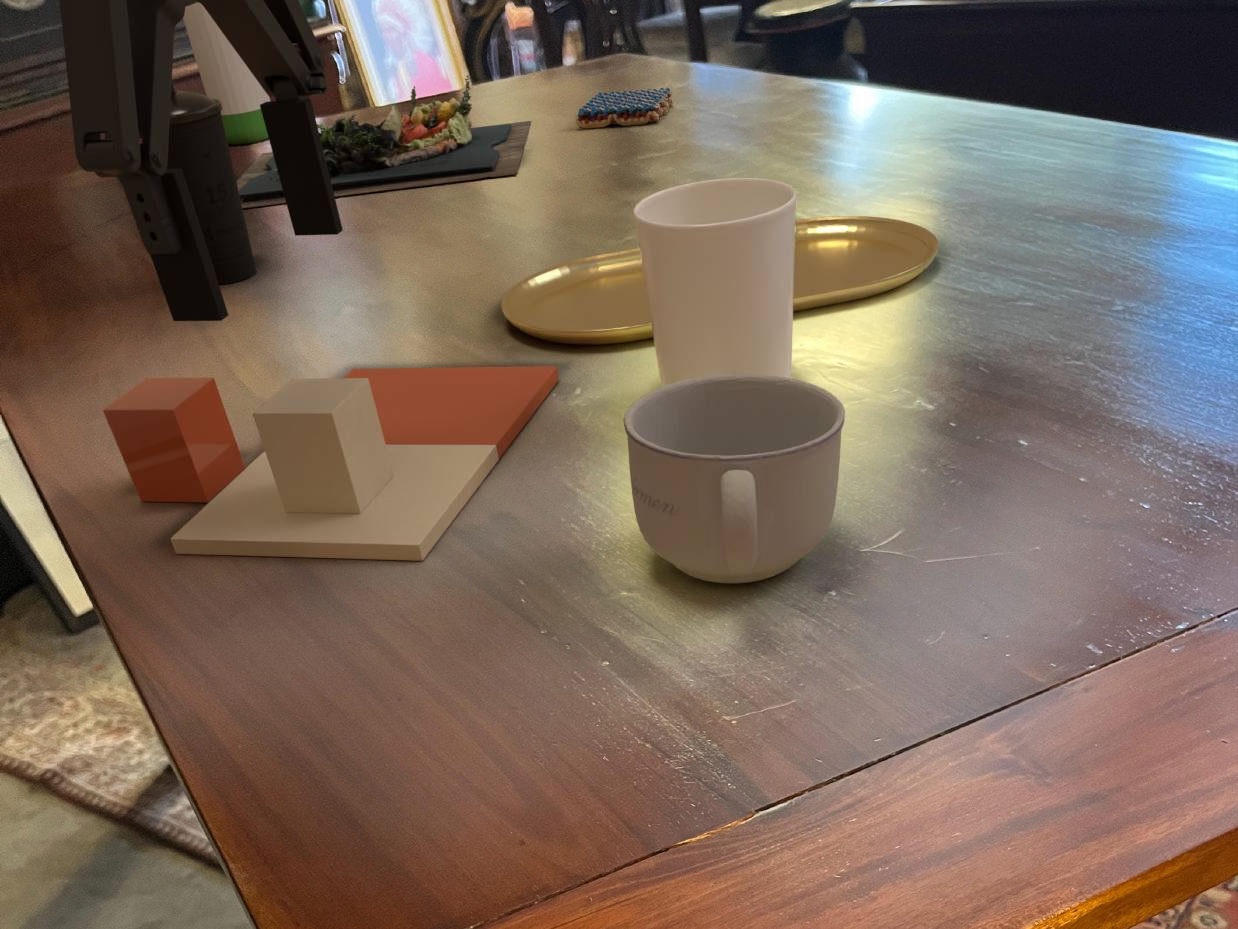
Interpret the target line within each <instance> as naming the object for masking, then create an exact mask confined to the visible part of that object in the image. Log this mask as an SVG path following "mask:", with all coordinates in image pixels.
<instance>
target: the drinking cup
mask: <svg viewBox="0 0 1238 929" xmlns="http://www.w3.org/2000/svg"><path fill="white" fill-rule="evenodd" d="M222 109H223V106H222V103H221V101H220V100H217V99H211V98H209V97H207V96H206V94H202V93H199V92H196V91H195V92H194V91H187V90H185V91H184V90H176V89H175V86H174V82H172V86H171V104H170V123H169V142H168V160H167V169H182V171H183V174H184V177H185V180H186V184H187V187H188V190H189V193H190V196H191V199H192V202H193V205H194V209H195V212H196V215H197V218H198V221H199V224H200V227H201V230H202V234H203V237H204V240H205V243H206V246H207V249H208V252H209V256H210V259H211V262H212V265H213V268H214V271H215V274H216V277H217V281H218V284H219V285H227V284H233V283H237V282H242V281H244V280H247V279H249V278H251V277H253V276H254V275H255V274H256V273H257V268H256V262H255V259H254V254H253V249H252V246H251V241H250V240H251V239H250V236H249V232H248V228H247V224H246V223H247V222H246V219H245V214H244V208H242V205H241V200H240V196H239V191H238V187H237V178H236V174H235V169H234V164H233V160H232V156H231V151H230V146H229V144H228V142H227V138H226V133H225V129H224V124H223V120H222V115H221V110H222Z"/></svg>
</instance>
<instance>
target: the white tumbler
mask: <svg viewBox="0 0 1238 929" xmlns="http://www.w3.org/2000/svg"><path fill="white" fill-rule="evenodd" d="M797 204H798V192H797V190H796V189H795V188H794V186H792V185H790V184H788V183H785V182H783V181H780V180H775V179H769V178H768V179H767V178H761V177H760V178H759V177H727V178H717V179H716V178H715V179H708V180H706V179H705V180H701V181H695V182H689V183H685V184H684V183H683V184H680V185H676V186H672V187H668V188H665V189H662V190H660V191H657V192H654V193H652V194H650V195H648V196H646V197H644V198H643V199H641V200H640V201H638V202H637V203H636V205H635V206H634V207H633V210H632V218H633V222H634V224H635V231H636V235H637V241H638V242H637V243H638V248H639V249H640V255H641V261H642V268H643V274H644V281H645V287H646V293H647V300H648V306H649V312H650V319H651V325H652V331H653V338H652V339H653V343H654V349H655V356H656V362H657V367H658V368H657V369H658V375H659V380H660V381H659V382H660V388H661V387H663V386H666V385H669V384H673V383H676V382H679V381H683V380H688V379H693V378H698V377H703V376H714V375H727V374H749V375H765V376H779V377H785V378H791V379H792V365H793V364H792V361H793V334H794V332H793V329H794V328H793V327H794V311H793V297H794V260H795V224H796V220H797V219H796V218H797Z"/></svg>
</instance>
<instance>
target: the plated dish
mask: <svg viewBox="0 0 1238 929" xmlns="http://www.w3.org/2000/svg"><path fill="white" fill-rule="evenodd" d="M464 81H465V82H464V83H465V85H464V86H465V90H464V91H462V94H463V96H462V97H461V101H460V100H459V102H458V101H457V99H456V98H455V97H452V98H450V100H448V101H444V102H441V101H440V100H437V96H436V97H435V96H434V97H433V100H432V102H430V103H429V104H428V103H427V104H425V103H420V104H418V105H417V98H416V97H417V92H416V86H415V85H414V86H413V88H412V89H411V92H410V94H411V95H410V104H412V108H411V109H410V110H409V114H408V113H405V114H402V115H401V113H400V112H399V110H398V108H397V107H396V106H395V105H392V106H391V110H390V112H389V114H388V115H387V117H386V118H385V119H384V120H383V121H382V122H380V123H379V124H377V125H373V124H371V123H368V122H365V123H363V124H361V125H359V121H358V120H354V119H355V117H356V114H354V113H353V114H352V115H351V116H349V118H348V119H346V117H344V116H343V115H342V116H340V117H338V118H336V120H335V122H334V124H333V125H327V126H326V127H325V126H323V123H320V124H318V123H317V127H318V129H319V130H320V132H319V135H320V139H321V143H322V147H323V151H324V156H325V160H326V164H327V168H328V172H329V176H330V180H331V184H332V188H333V192H334V196H335V197H342V196H350V195H358V194H367V193H374V192H383V191H391V190H398V189H399V190H400V189H406V188H407V189H408V188H413V187H414V188H415V187H424V186H431V185H439V184H446V183H447V184H449V183H454V182H464V181H471V180H479V179H485V178H495V177H503V176H504V177H505V176H511V175H517V174H518V170H519V168H520V163H521V159H522V156H523V152H524V148H525V145H526V141H527V138H528V134H529V131H530V128H531V124H532V120H526V121H518V122H517V121H516V122H509V123H501V124H492V125H484V126H475V127H472V123H471V121H470V117H469V115H470V112H471V111H472V105H473V104H472V103H470V102H469V101H471V97H472V95H470V94H471V93H470V92H469V91H470V90H472V88H471V86H470V82H471V81H470V76H469V75H468V74H466V76H465V77H464ZM236 182H237V187H238V191H239V196H240V200H241V205H242V209H247V208H256V207H264V206H271V205H280V204H286V200H285V196H284V193H283V189H282V185H281V182H280V178H279V174H278V171H277V167H276V163H275V160H274V156H273V152H272V151H270V152H269V151H268V152H263V153H262V154H261V155H260V156H259V157H258V158H257V159H256V160H255V161H254V162H253V163H252V164H251V165H250V166H249V167H248V168H247V169H246V171H245V172H243V174H242V175H241V176H239V178H238V179H237V180H236Z"/></svg>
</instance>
